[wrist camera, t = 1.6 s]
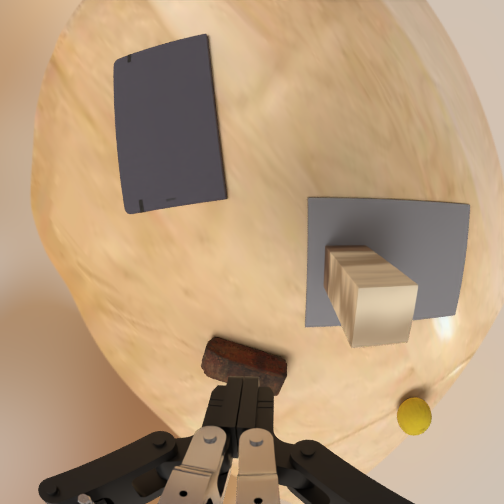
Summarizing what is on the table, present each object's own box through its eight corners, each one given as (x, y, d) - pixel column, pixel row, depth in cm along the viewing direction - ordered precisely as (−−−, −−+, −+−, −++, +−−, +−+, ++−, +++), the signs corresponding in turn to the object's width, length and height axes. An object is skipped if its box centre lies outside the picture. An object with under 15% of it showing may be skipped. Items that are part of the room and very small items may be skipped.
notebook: (227, 198, 34) (208, 38, 29) (225, 199, 32) (206, 33, 27) (131, 214, 35) (118, 63, 30) (125, 215, 33) (113, 60, 29)
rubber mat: (307, 197, 32) (308, 197, 32) (468, 204, 31) (469, 204, 30) (305, 325, 36) (305, 327, 36) (453, 313, 35) (454, 315, 34)
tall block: (325, 245, 33) (358, 288, 20) (365, 245, 33) (418, 285, 19) (323, 286, 34) (351, 347, 21) (362, 285, 34) (407, 342, 20)
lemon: (385, 411, 39) (399, 444, 32) (402, 386, 38) (420, 419, 30) (409, 413, 39) (424, 444, 32) (426, 389, 38) (444, 419, 30)
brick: (287, 355, 38) (288, 376, 33) (277, 377, 39) (277, 398, 34) (211, 333, 38) (203, 351, 33) (204, 355, 39) (197, 375, 34)
